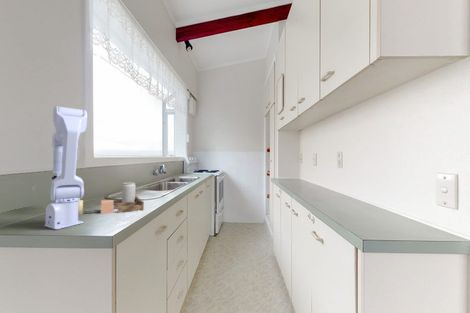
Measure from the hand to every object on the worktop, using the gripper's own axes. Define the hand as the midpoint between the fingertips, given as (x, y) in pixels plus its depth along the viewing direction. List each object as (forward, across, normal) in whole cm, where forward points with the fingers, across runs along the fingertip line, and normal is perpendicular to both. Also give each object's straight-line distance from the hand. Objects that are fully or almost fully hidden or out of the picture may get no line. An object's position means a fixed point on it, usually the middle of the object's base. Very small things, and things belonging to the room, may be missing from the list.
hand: (60, 191), depth 102 cm
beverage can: (+10, +2, -29) cm, 30 cm away
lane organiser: (+9, -2, -28) cm, 29 cm away
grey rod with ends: (+9, -7, -13) cm, 17 cm away
